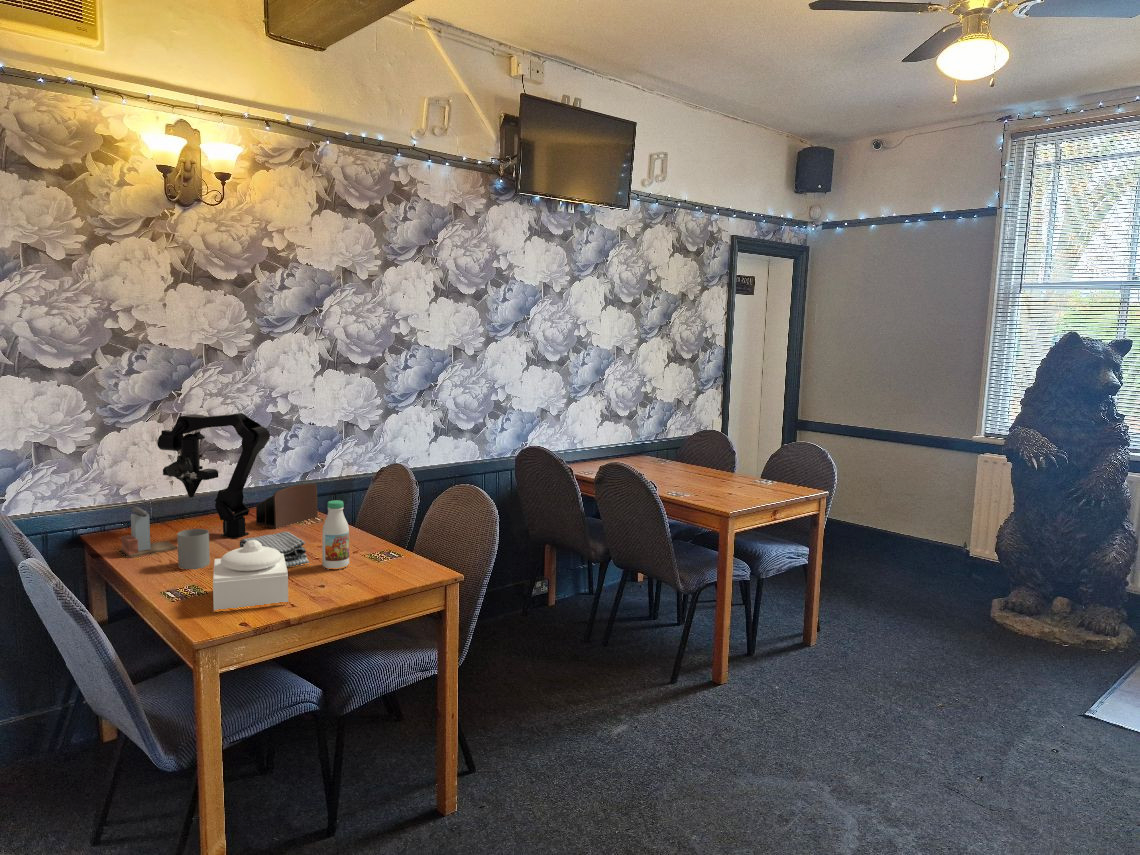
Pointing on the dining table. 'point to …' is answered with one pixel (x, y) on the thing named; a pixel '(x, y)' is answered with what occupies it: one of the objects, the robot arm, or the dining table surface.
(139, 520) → the grey t-shaped piece
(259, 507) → the letter holder
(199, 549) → the cup
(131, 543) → the tan base plate
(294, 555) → the towel
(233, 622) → the dining table surface
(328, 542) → the milk bottle
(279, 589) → the white block with dome
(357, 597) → the dining table surface
